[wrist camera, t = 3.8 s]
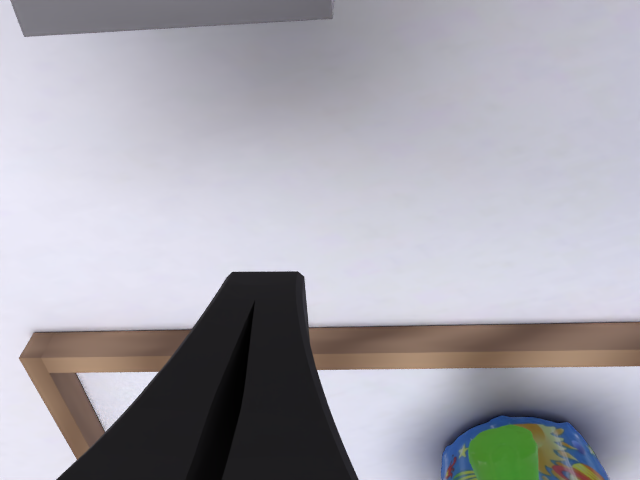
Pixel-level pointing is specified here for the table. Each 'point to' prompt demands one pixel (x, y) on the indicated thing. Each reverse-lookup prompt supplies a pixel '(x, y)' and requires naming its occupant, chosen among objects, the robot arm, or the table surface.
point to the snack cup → (521, 452)
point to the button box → (157, 14)
